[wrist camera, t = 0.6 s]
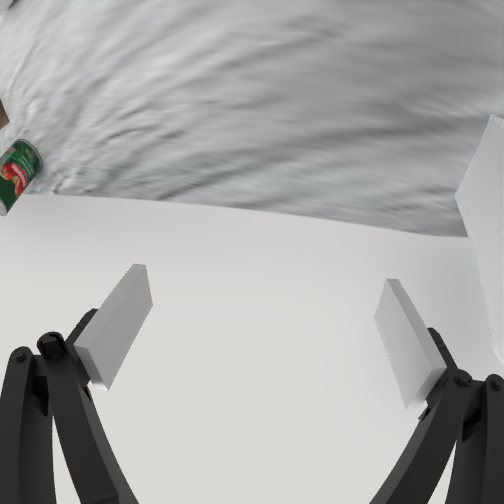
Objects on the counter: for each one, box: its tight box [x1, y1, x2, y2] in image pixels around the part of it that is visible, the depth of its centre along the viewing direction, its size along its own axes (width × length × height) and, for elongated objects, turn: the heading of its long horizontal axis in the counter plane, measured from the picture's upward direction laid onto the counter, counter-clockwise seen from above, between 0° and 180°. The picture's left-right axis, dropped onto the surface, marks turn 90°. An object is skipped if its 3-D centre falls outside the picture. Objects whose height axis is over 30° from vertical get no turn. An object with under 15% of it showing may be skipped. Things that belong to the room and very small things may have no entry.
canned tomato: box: [0, 139, 42, 216], centre depth 35 cm, size 8×8×11 cm
